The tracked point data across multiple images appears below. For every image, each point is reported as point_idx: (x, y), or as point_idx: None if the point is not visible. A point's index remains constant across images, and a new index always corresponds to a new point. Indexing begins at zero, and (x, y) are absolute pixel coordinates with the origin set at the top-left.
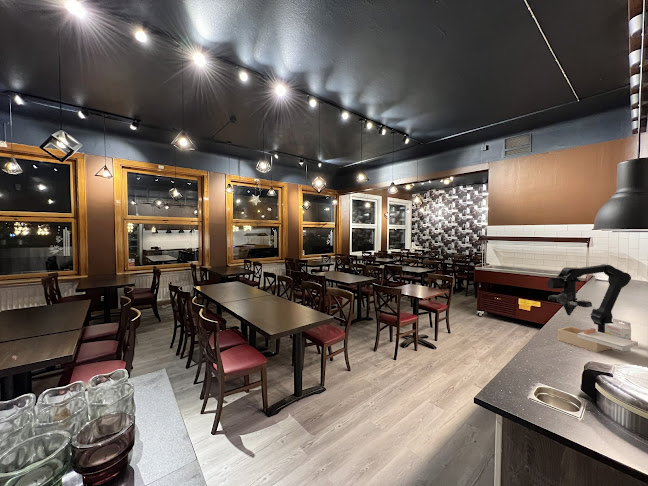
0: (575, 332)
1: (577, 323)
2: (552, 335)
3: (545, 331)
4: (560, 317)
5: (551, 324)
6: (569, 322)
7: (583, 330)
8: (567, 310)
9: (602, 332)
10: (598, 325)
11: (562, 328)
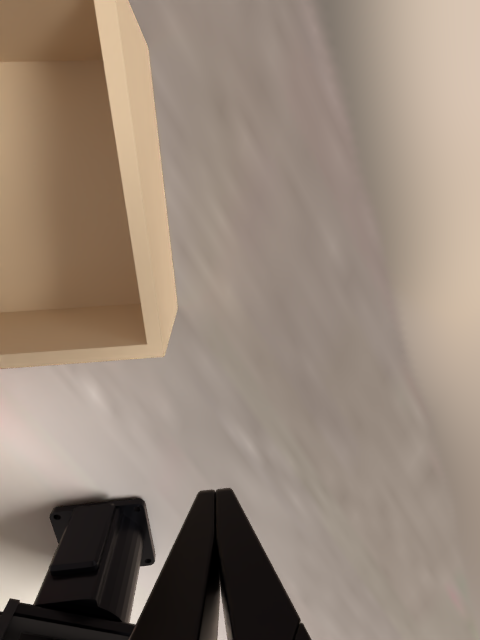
0: (118, 323)
1: (351, 617)
2: (265, 161)
3: (367, 225)
4: (463, 628)
5: (432, 462)
6: (386, 596)
7: (7, 351)
8: (228, 611)
9: (68, 545)
10: (114, 620)
11: (123, 116)
